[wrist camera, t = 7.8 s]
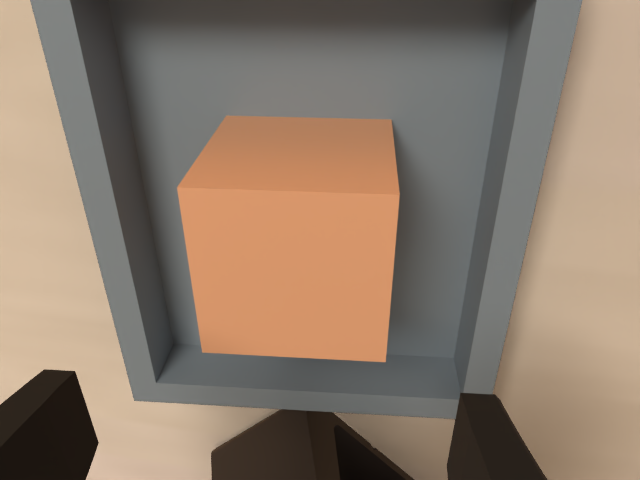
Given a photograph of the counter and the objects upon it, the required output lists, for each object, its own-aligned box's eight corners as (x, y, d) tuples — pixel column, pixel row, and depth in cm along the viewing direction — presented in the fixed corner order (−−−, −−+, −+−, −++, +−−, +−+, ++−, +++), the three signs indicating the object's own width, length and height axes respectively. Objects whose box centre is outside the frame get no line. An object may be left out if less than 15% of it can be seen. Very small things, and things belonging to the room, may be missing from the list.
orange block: (391, 119, 16) (399, 194, 12) (381, 259, 19) (385, 362, 15) (226, 115, 17) (177, 187, 12) (239, 253, 19) (202, 352, 15)
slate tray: (559, -58, 14) (593, -52, 12) (474, 370, 22) (486, 420, 20) (67, -58, 15) (16, -52, 13) (156, 354, 23) (134, 400, 20)
